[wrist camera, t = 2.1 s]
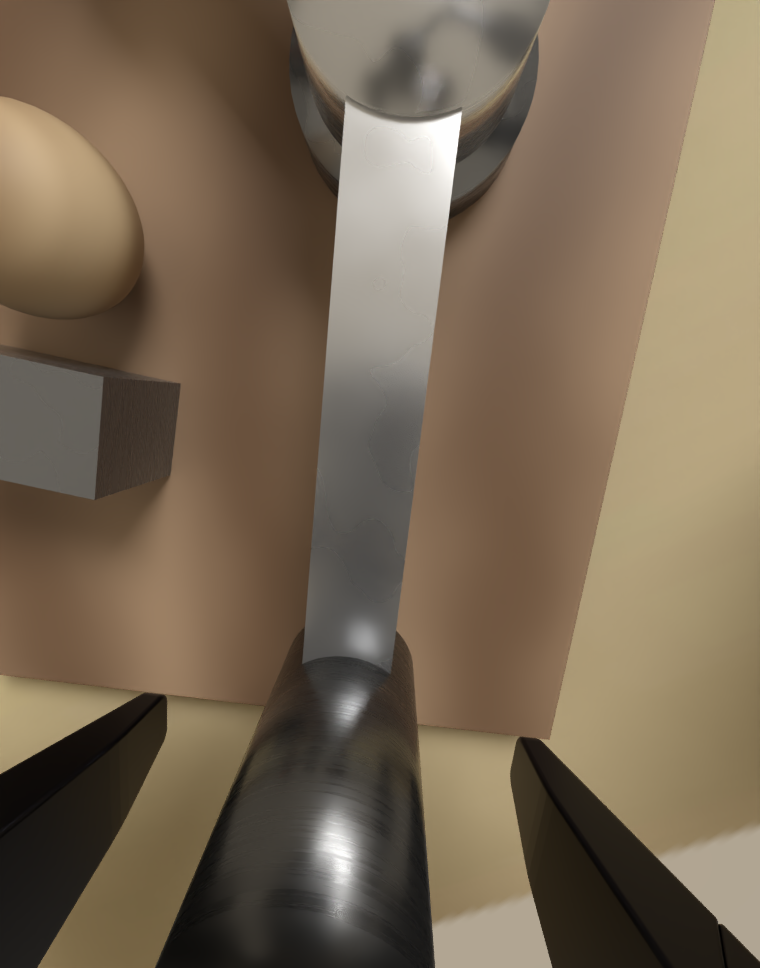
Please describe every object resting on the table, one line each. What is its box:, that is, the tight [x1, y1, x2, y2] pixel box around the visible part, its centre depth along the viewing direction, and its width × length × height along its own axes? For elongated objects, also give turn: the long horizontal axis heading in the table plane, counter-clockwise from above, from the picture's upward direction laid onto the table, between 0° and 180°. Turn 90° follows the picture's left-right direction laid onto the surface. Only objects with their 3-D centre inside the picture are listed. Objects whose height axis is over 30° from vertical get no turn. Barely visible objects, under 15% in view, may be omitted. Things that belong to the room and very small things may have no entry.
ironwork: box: [0, 26, 539, 500], centre depth 8 cm, size 15×5×3 cm, turn 129°
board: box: [0, 0, 715, 740], centre depth 10 cm, size 17×25×1 cm
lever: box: [155, 0, 550, 968], centre depth 6 cm, size 21×9×7 cm, turn 174°
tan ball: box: [0, 96, 145, 320], centre depth 8 cm, size 4×4×4 cm
